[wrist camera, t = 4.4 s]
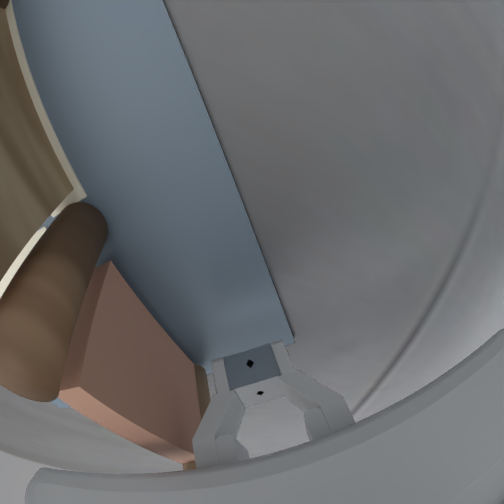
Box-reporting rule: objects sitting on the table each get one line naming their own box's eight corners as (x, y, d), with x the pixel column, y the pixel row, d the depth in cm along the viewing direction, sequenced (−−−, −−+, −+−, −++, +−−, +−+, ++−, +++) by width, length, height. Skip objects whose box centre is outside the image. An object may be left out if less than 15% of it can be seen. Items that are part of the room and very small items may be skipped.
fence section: (116, 257, 10) (85, 398, 5) (211, 375, 15) (229, 471, 10) (82, 273, 10) (42, 405, 5) (183, 384, 15) (195, 477, 10)
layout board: (124, -91, 2) (122, -95, 2) (293, 338, 16) (295, 343, 16) (-118, 157, 2) (-122, 160, 2) (60, 405, 16) (60, 409, 15)
